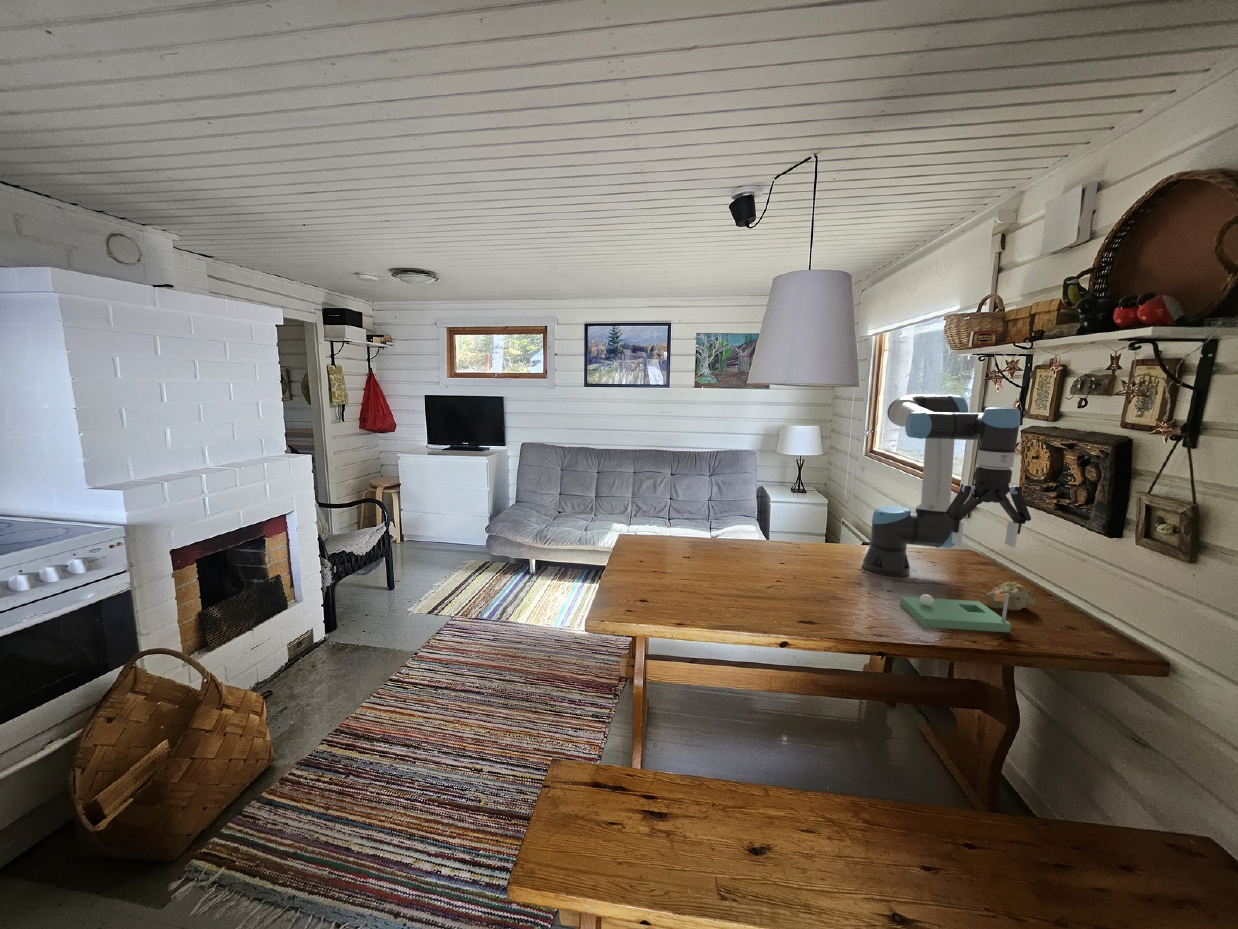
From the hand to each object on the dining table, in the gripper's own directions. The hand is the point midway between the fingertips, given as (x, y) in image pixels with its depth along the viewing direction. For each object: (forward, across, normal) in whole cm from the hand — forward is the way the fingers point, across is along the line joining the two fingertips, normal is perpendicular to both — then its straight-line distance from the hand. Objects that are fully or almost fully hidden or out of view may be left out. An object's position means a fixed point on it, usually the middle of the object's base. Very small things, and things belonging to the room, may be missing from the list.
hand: (982, 544), depth 124 cm
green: (+25, -1, +7) cm, 26 cm away
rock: (+25, +20, +17) cm, 36 cm away
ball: (+20, -8, +9) cm, 23 cm away
